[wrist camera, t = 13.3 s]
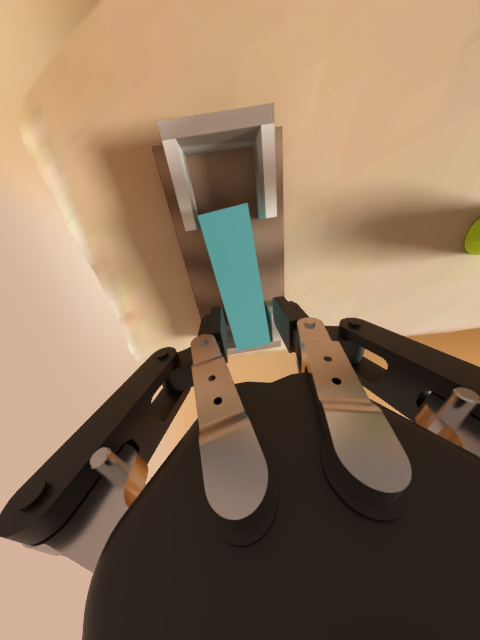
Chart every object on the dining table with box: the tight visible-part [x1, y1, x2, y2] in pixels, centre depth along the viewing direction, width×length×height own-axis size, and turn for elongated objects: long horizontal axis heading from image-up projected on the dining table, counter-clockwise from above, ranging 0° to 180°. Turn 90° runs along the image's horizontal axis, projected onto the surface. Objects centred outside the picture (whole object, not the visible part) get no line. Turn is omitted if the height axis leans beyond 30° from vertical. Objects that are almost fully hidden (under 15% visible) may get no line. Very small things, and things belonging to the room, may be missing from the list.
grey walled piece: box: [152, 103, 284, 355], centre depth 20 cm, size 22×12×6 cm, turn 8°
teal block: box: [198, 203, 271, 351], centre depth 20 cm, size 14×4×6 cm, turn 12°
